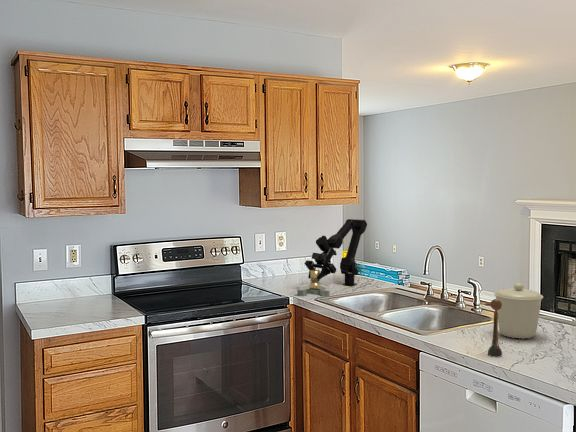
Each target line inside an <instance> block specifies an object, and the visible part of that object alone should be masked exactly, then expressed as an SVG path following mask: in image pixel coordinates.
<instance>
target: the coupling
mask: <svg viewBox="0 0 576 432" xmlns="http://www.w3.org/2000/svg"><path fill="white" fill-rule="evenodd" d="M320 272H321V270H319V269H315V270H310V282H309V283H310V284H309V285H310V290H315V291H316V290H320V289H318V286H319V285H321V284H320V280H321V279H320V280H317V278H318V276H319V274H320Z"/></svg>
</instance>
